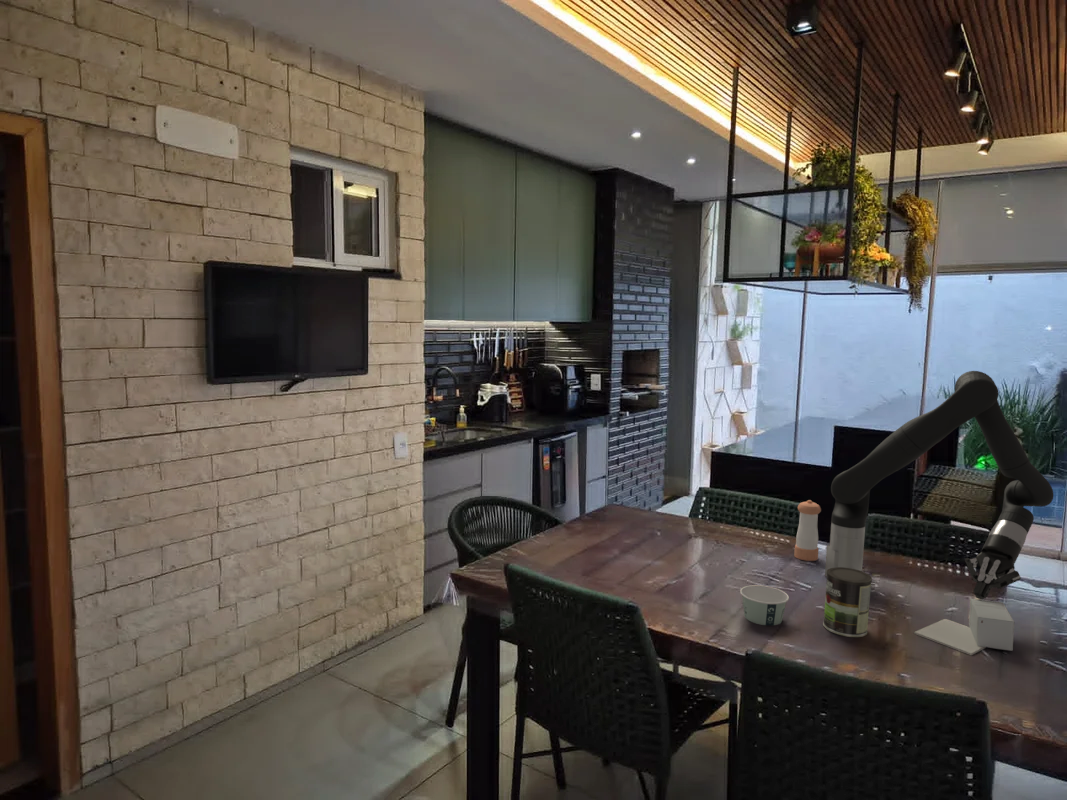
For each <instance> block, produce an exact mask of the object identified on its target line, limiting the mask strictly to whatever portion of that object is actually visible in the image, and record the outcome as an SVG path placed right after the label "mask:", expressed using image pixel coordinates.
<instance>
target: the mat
mask: <svg viewBox="0 0 1067 800" xmlns="http://www.w3.org/2000/svg"><path fill="white" fill-rule="evenodd" d="M913 633H914V635H916V636H919V637H922V638H924V639H927V640H930V641H932V642H935V643H938V644H941V645H944V646H945V647H949V648H951V649H953V650H956V651H959V652H961V653H964V654H967V655H969V656H973V655H975V654H976V653H979V652H980V651H982V650H985V649H986V648H987V647H982V646H977V643H976V641H975V639H974V636H973V634H972V631H971V629H970V626H967V625H964V624H961V623H958V622H956V621H953V620H950V619H947V618H943V619H941V620H939V621H936V622H934V623H931V624H930V625H927V626H925V627H923V628H920V629H918V630H916V631H914V632H913Z"/></svg>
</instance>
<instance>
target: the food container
mask: <svg viewBox="0 0 1067 800" xmlns="http://www.w3.org/2000/svg"><path fill="white" fill-rule="evenodd" d="M739 593H740V595H741V597H742V606H743V615H744V618H745V619H746V620H747V621H749V622H751V623H753V624H757V625H762V626H769V627H770V626H777V625H780V624H781V623H782V621H783V617H784V614H785V610H786V605H787V602H789V600H790V597H789V595H788V594H787V592H785V591H784V590H782V589H779V588H775V587H772V586H767V585H763V584H762V585H760V584H756V585H755V584H753V585H752V584H751V585H747V586H743V587H742V588H740V590H739Z"/></svg>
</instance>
